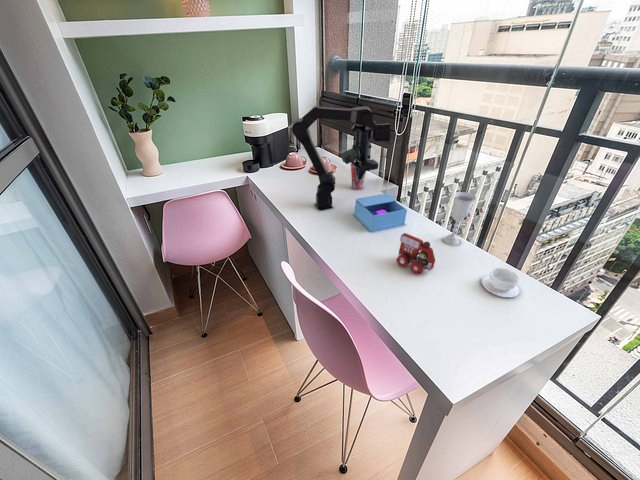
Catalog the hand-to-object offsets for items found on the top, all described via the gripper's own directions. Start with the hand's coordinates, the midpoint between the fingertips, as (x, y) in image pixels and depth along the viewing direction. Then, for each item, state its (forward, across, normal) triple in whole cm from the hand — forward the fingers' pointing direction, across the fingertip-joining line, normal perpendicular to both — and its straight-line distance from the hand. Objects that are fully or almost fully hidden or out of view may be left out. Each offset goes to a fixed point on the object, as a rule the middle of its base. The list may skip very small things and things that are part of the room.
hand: (359, 179), depth 131 cm
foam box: (+13, +14, +3) cm, 19 cm away
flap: (+6, +10, +3) cm, 12 cm away
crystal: (+13, +15, +3) cm, 20 cm away
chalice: (+13, +38, +20) cm, 45 cm away
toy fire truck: (+13, +46, -2) cm, 48 cm away
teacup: (+13, +64, +16) cm, 67 cm away
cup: (+13, -20, +10) cm, 26 cm away
